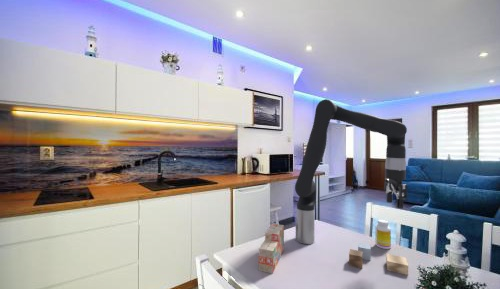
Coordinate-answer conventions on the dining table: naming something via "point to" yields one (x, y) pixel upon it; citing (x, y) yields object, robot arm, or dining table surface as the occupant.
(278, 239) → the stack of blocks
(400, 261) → the oak base
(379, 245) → the supplement bottle
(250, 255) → the dining table surface
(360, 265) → the walnut cube
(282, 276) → the dining table surface
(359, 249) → the slate cube
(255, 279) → the dining table surface
